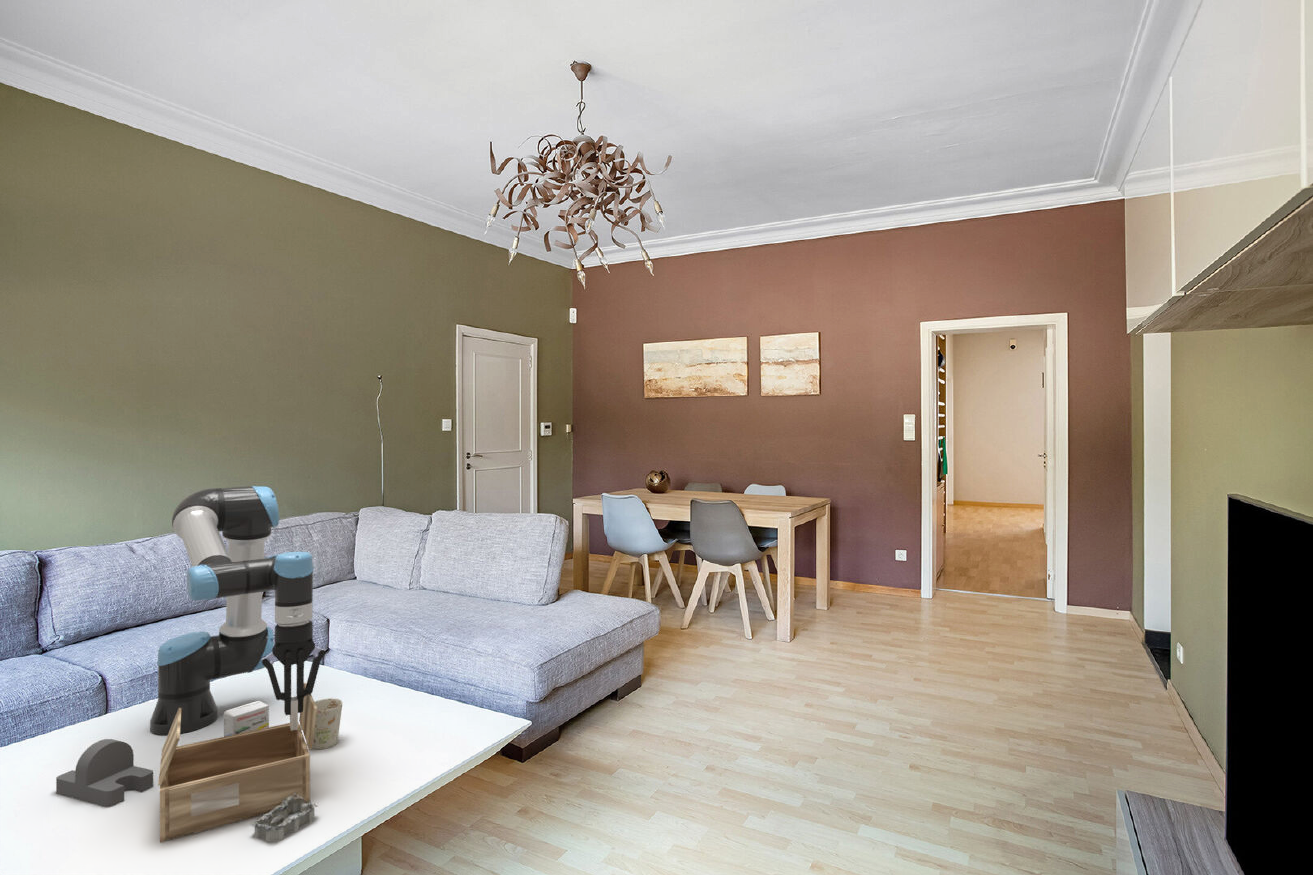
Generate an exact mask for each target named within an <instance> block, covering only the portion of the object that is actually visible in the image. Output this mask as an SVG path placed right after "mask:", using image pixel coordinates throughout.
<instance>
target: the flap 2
mask: <svg viewBox="0 0 1313 875" xmlns="http://www.w3.org/2000/svg"><path fill="white" fill-rule="evenodd" d="M306 684H307V682H304V688H306ZM316 713H317V707H316V704H315V700H314V698H313V696H312V693H311V694H308V695H306V696H305V697H304V699H303V712H301V713H299V717H298V722H299V725H301V728H302V734H303V737H304V740H305V742H307V745H308V746H307V748H308V751H312V750H313V748H312V744H313V736H314V728H315V721H316Z"/></svg>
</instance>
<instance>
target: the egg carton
mask: <svg viewBox="0 0 1313 875" xmlns="http://www.w3.org/2000/svg"><path fill="white" fill-rule="evenodd" d="M296 794H297V793H295V794H294V795H291V796H289V797H288V798H286V799H285V800H284V801H283V802H282V804H281V805H279V806H276V807H275V808H274V809H273V810H272V811H270V812H269V813H267V814H263V815H261V817H260V818H259V819H257V820H255V821H254V822H251V823H250V825H251V826H252V827H253V828H254V838H255V839H260V838H264V837H265V842H267V843H272V842H276V841H277V842H279V841H282V840H283V839H284V835H285V834H288V833H290V832H297V831H299V830H300V826H301V825H302V824H305V823H308V824H309V823H311V822H313V821H314V820H315V808H316V807H318V804H316V803H315V802H314V803H312V802H311V801H310V802H308V803H305V801H304V799H303V798H302V797H299V796H298V795H296ZM296 813H297V816H296V817H295V816H294V817H291V818H288V817H289V816H288V815H289V814H296Z"/></svg>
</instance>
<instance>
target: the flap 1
mask: <svg viewBox="0 0 1313 875" xmlns="http://www.w3.org/2000/svg"><path fill="white" fill-rule="evenodd" d="M181 709H182V708H179V709H178V711H177V714H176V716H175V719H174V721H173V724H172V726H171V729H170V731H169V734H168V735H166V738H165V741H164V744H163V746H162V749H161V756H160V763H159V764H160V765H159V774H158V782H157V785H158V786H160V785H161V784H162V781H163V779H164V776H165V774H166V771H167V769H168V766H169V764H170V761H171V759H172V757H173V754H174V752H175V749H176V747H177V746H178V743H179V741H180V737H181V733H180V725H181Z"/></svg>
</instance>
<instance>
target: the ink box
mask: <svg viewBox="0 0 1313 875" xmlns="http://www.w3.org/2000/svg"><path fill="white" fill-rule="evenodd" d="M269 707H270V706H269V704H267V703H264V702H263V701H260V700H256V701H253V702H250V703H249V702H248V703H246V704H243V705H240V706H237V707H236V706H235V707H234V708H230V709H227V710H226V711H224V712H223V737H225V736H230V735H234V734H239V733H244V732H249V731H253V730H258V729H263V728H268V727H270V712H269V711H270V708H269Z"/></svg>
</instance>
